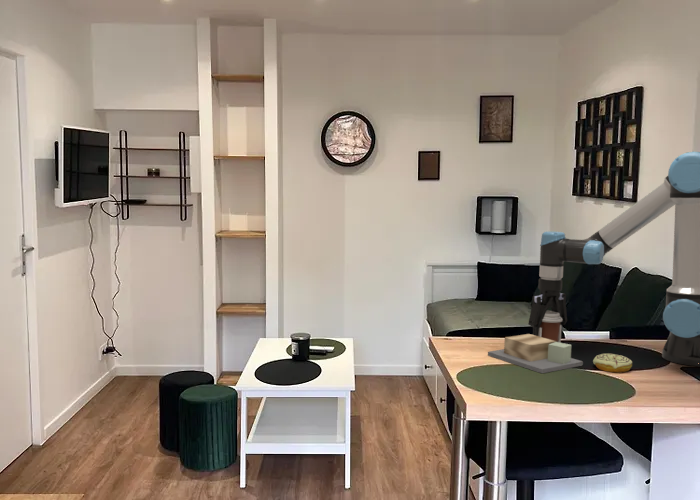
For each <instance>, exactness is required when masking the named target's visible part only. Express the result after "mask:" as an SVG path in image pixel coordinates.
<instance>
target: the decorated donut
mask: <svg viewBox="0 0 700 500" xmlns="http://www.w3.org/2000/svg"><path fill="white" fill-rule="evenodd" d="M592 362H593V364H594V365H595V367H596V368H597V369H599V370H601V371H603V372H607V373H617V374H618V373H619V374H620V373H626V372H629V371H630V370H631V368H632V367H633V361H632V360H631V359H630V358H628V357H627V356H624V355H621V354H620V355H619V354H615V353H601V354H598V355H596V356H595V357H594V358H593V360H592Z"/></svg>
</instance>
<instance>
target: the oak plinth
mask: <svg viewBox="0 0 700 500" xmlns="http://www.w3.org/2000/svg"><path fill="white" fill-rule="evenodd" d="M554 342H556V341H554V340H550V339H546V338H543V337H539V336H535V335H533V333H532V334H530V333H526V334H520V335H519V334H518V335H512V336H511V335H510V336H505V337H504V343H503V344H504V345H503V346H504V348H503V349H504V353H506V354H509V355H512V356H515V357H518V358H521V359H524V360H528V361H536V360H542V359H547V358H548V345H549V344H551V343H554Z"/></svg>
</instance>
